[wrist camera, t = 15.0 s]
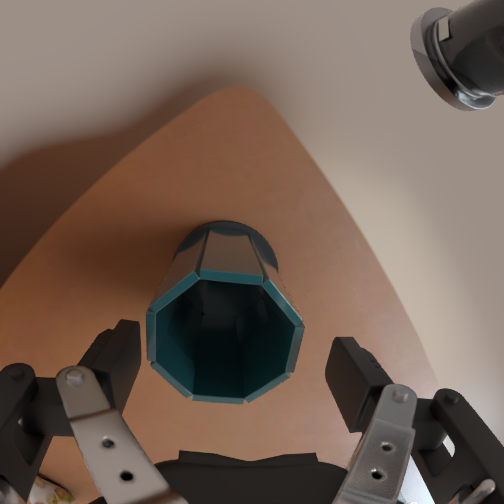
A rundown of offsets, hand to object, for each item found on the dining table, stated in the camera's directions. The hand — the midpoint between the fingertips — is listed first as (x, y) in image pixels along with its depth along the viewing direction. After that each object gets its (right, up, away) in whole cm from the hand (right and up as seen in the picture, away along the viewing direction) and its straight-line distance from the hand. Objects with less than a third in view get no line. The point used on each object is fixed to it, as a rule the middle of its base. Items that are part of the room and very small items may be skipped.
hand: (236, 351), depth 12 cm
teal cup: (-1, +2, +8) cm, 9 cm away
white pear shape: (-30, -30, +15) cm, 44 cm away
